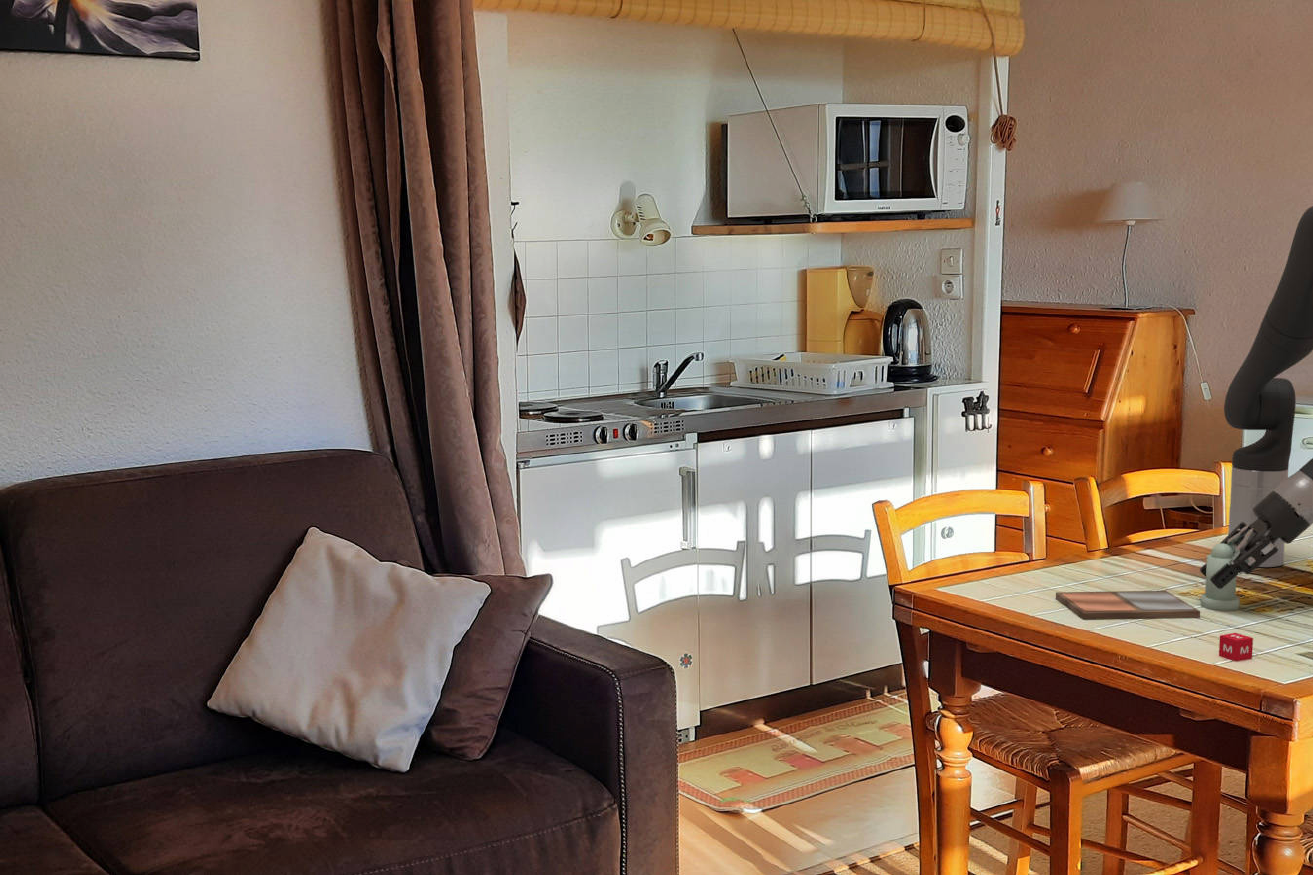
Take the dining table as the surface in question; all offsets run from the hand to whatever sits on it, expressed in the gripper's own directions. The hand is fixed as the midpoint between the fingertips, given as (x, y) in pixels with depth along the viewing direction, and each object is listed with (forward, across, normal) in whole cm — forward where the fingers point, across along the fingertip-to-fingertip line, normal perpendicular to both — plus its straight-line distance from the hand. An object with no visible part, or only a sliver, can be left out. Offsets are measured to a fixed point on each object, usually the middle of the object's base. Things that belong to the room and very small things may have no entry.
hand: (1209, 579), depth 214 cm
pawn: (+2, 0, +4) cm, 5 cm away
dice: (+6, +28, +1) cm, 29 cm away
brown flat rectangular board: (+12, +3, -6) cm, 14 cm away
